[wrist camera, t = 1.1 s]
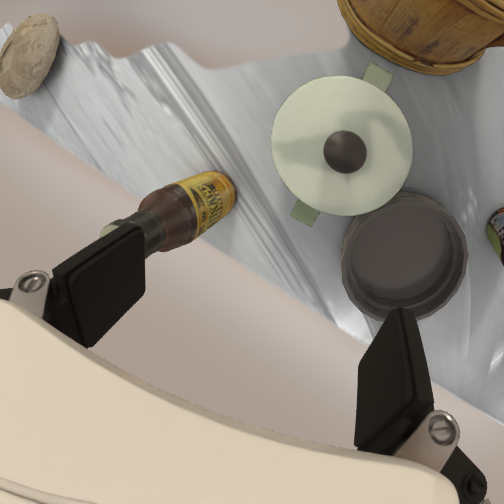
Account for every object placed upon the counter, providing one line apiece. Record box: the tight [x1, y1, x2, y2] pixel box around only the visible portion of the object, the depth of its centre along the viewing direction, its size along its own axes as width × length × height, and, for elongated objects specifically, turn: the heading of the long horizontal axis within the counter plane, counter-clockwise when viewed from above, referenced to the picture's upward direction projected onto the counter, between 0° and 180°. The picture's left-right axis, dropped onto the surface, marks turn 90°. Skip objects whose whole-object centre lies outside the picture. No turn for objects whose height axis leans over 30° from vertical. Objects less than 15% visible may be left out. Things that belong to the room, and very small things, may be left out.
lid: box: [271, 76, 413, 216], centre depth 20 cm, size 13×13×7 cm
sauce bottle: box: [99, 171, 237, 259], centre depth 29 cm, size 6×6×20 cm
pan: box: [341, 192, 468, 322], centre depth 32 cm, size 16×16×4 cm
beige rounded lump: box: [0, 13, 60, 100], centre depth 29 cm, size 18×18×10 cm
